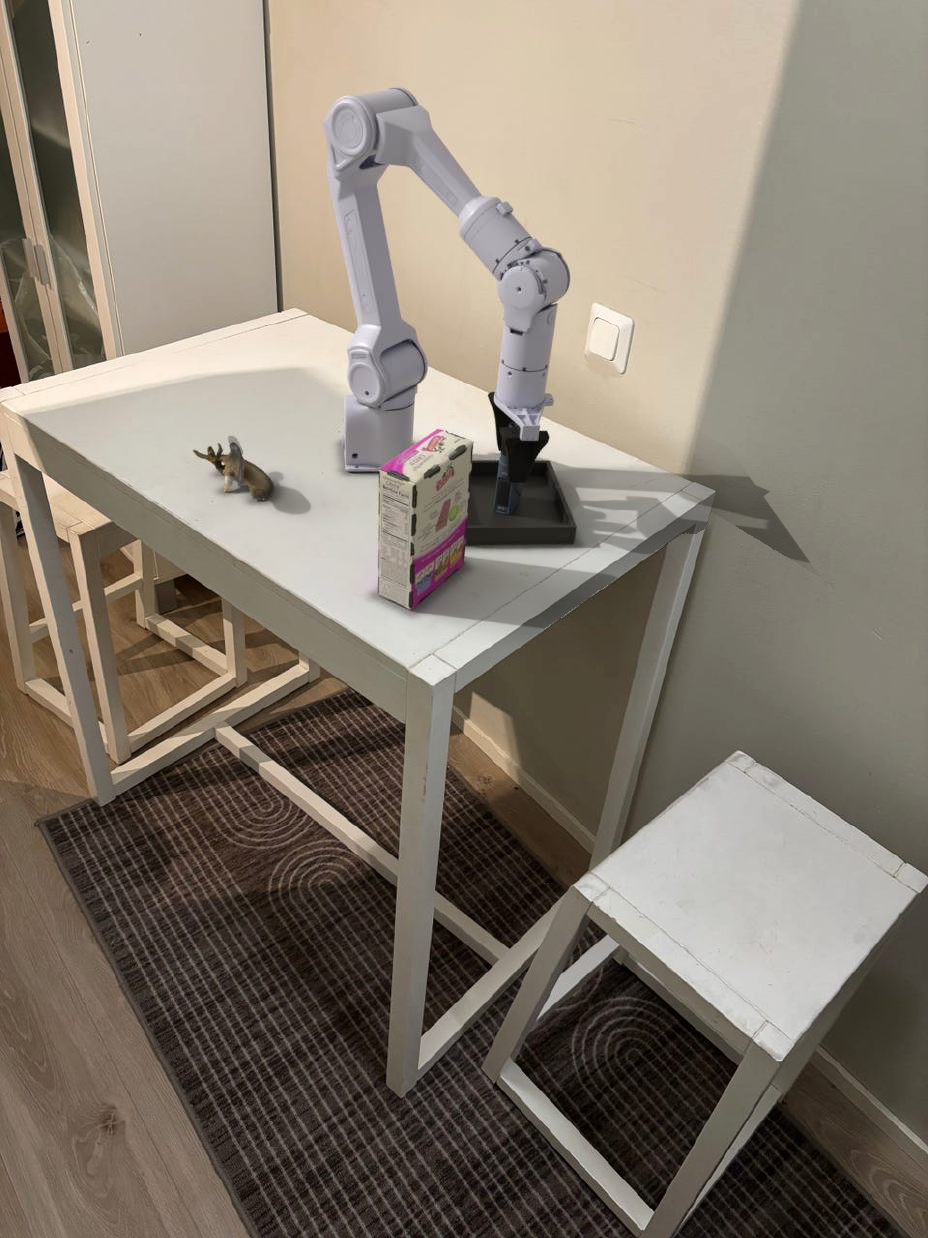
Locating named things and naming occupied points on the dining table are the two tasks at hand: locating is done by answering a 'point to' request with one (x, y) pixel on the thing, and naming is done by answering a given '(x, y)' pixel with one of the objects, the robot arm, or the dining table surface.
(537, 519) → the tray
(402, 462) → the candy bar box
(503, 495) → the vaping device
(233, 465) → the antlered animal figurine
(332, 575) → the dining table surface
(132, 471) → the dining table surface
